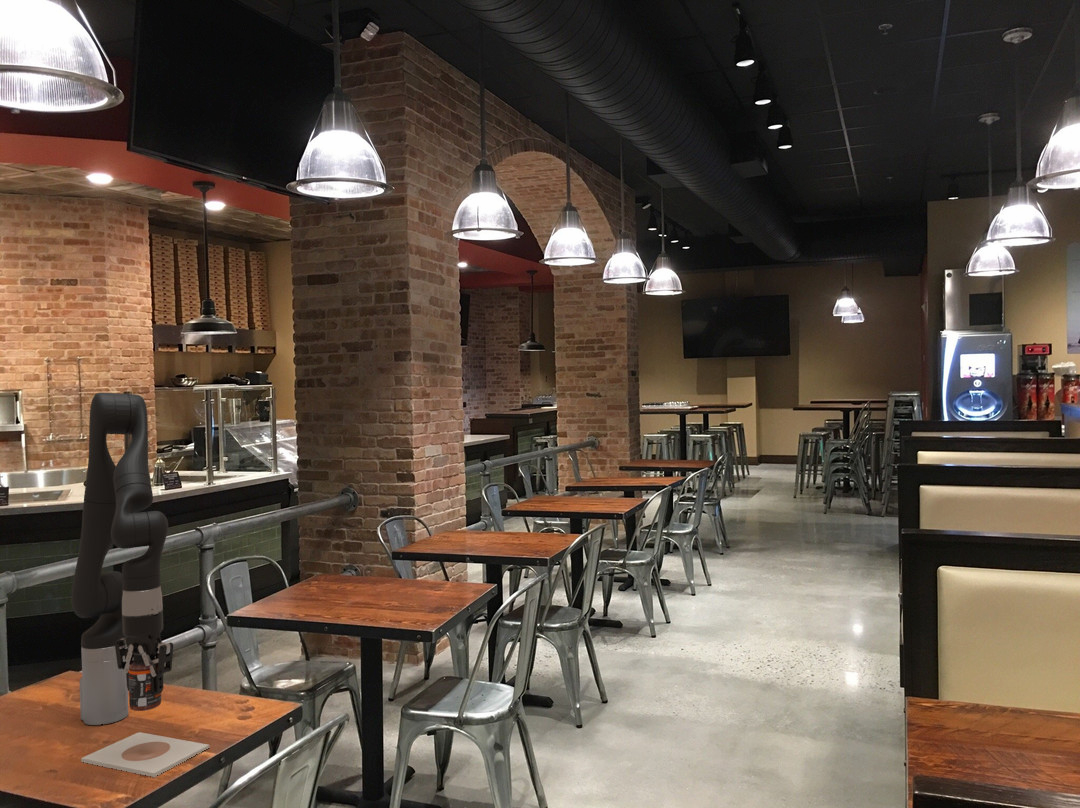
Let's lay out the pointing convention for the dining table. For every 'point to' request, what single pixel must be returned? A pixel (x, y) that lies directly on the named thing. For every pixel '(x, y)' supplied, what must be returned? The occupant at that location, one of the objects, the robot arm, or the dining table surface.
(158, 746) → the board
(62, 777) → the dining table surface
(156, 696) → the supplement bottle
